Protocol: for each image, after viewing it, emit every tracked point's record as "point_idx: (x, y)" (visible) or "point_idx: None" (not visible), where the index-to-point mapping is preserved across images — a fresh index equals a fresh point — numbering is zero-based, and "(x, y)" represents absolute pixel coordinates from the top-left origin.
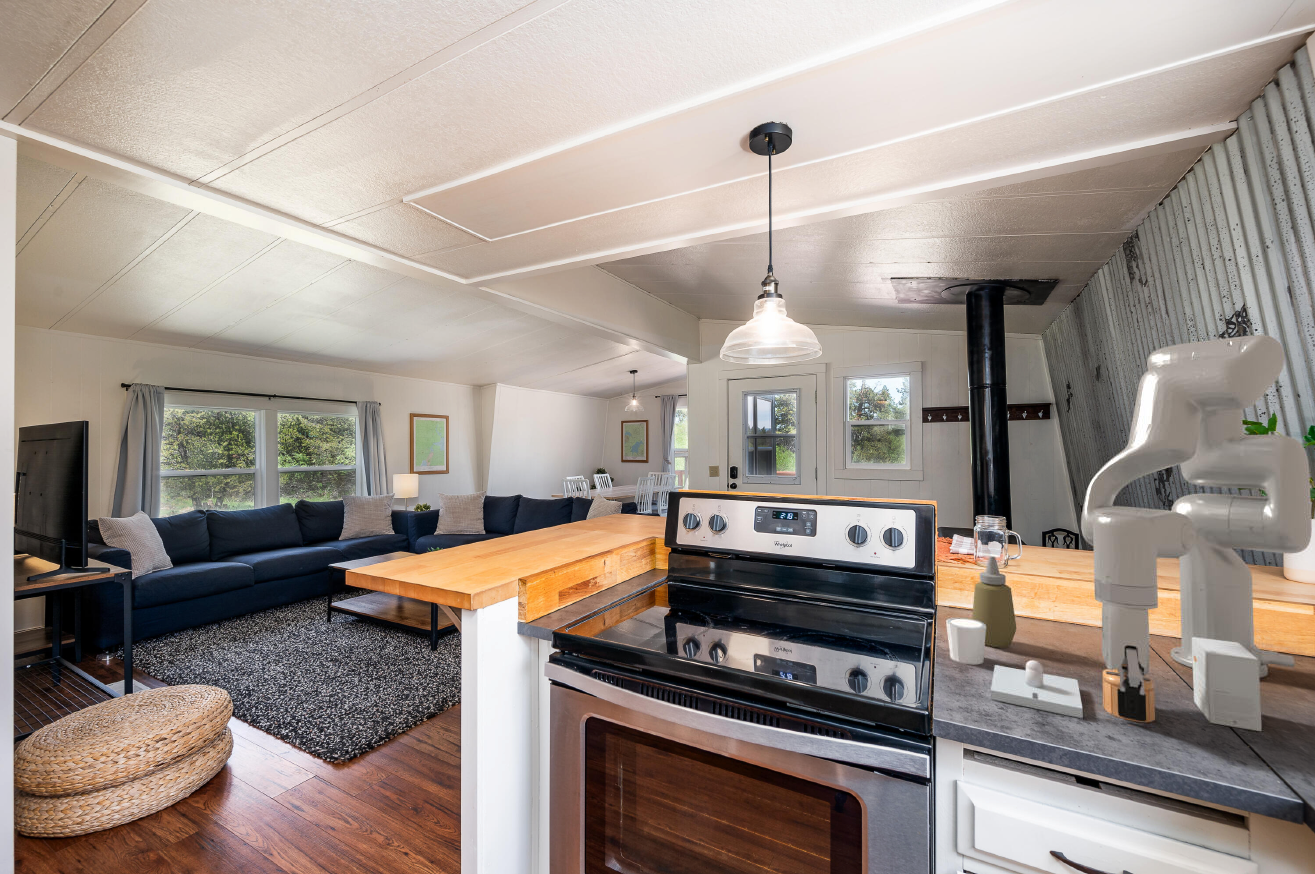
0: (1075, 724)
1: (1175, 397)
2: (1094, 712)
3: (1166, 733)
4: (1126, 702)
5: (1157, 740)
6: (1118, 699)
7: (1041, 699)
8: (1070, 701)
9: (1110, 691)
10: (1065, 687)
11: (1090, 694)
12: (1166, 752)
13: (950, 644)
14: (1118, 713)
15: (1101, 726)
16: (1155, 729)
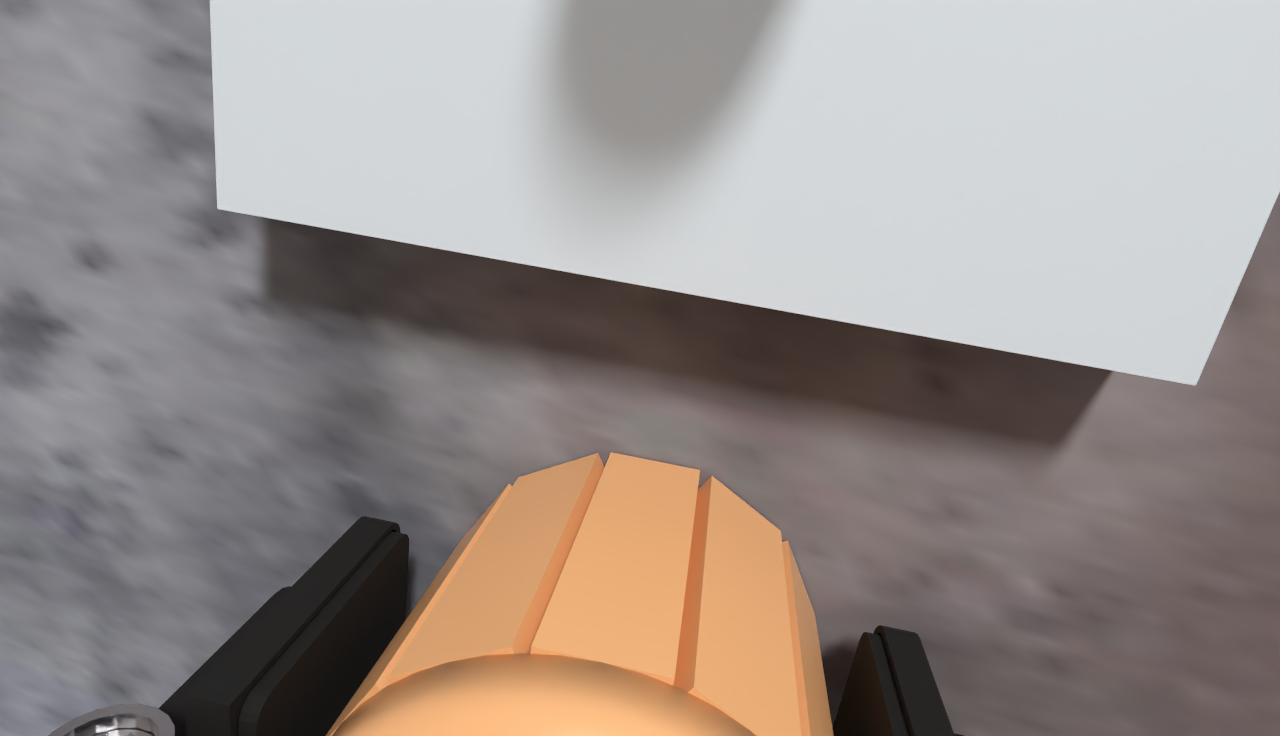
0: (113, 97)
1: None
2: (491, 344)
3: None
4: (214, 657)
5: (182, 625)
6: (272, 611)
7: None
8: (360, 118)
9: (437, 609)
10: (828, 158)
11: (974, 436)
12: (24, 608)
13: None
14: (357, 521)
15: (203, 318)
16: None
